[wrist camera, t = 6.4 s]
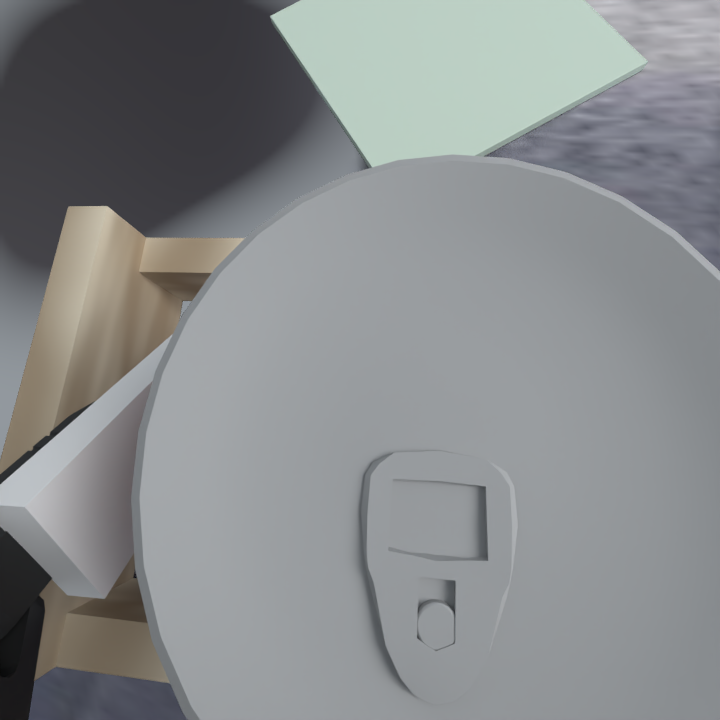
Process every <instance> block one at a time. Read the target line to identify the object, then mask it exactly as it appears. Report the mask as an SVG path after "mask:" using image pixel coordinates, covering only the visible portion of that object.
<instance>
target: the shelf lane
mask: <svg viewBox="0 0 720 720" xmlns="http://www.w3.org/2000/svg"><path fill="white" fill-rule="evenodd" d="M244 239H245V238H146V237H144V236H143V235H142V234H141V233H139V232H138V231H137V230H136V229H135V228H133V227H132V226H131V225H130V224H128V223H127V222H126V221H125V220H123V219H122V218H121V217H120V216H119V215H117V214H116V213H115V212H114V211H112V210H111V209H110V208H109V207H107V206H76V207H68V210H67V214H66V218H65V221H64V225H63V229H62V232H61V236H60V240H59V244H58V247H57V251H56V255H55V259H54V262H53V266H52V270H51V274H50V277H49V281H48V285H47V288H46V292H45V296H44V299H43V303H42V307H41V311H40V314H39V318H38V322H37V325H36V329H35V333H34V337H33V340H32V344H31V348H30V352H29V355H28V359H27V363H26V366H25V370H24V374H23V377H22V381H21V385H20V389H19V392H18V396H17V400H16V404H15V407H14V411H13V415H12V418H11V422H10V426H9V430H8V433H7V437H6V441H5V444H4V448H3V452H2V455H1V459H0V474H1V473H2V472H3V471H5V470H6V469H7V468H8V467H9V466H11V465H12V464H13V463H14V462H15V461H16V460H18V459H19V458H20V457H21V456H22V455H24V454H25V453H26V452H27V451H32V450H33V446H34V445H35V444H36V443H38V442H39V441H40V440H41V439H42V438H44V437H45V436H49V435H50V432H51V431H52V430H53V429H54V428H55V427H57V426H58V425H59V424H60V423H61V422H62V421H64V420H65V419H66V418H67V417H68V416H70V415H71V414H73V413H75V412H76V411H78V410H80V409H82V408H84V407H85V406H87V405H89V404H91V403H92V402H94V401H96V400H98V399H99V398H100V397H101V396H102V395H103V394H104V393H106V392H107V391H108V390H109V389H110V388H111V387H113V386H114V385H115V384H116V383H117V382H118V381H119V380H121V379H122V378H123V377H124V376H125V375H126V374H127V373H129V372H130V371H131V370H132V369H133V368H134V367H135V366H137V365H138V364H139V363H140V362H141V361H142V360H143V359H145V358H146V357H147V356H148V355H149V354H150V353H151V352H153V351H154V350H155V349H156V348H157V347H158V346H159V345H161V344H162V343H163V342H164V341H165V340H166V339H168V338H169V337H170V336H171V335H172V334H173V333H174V331H175V329H176V327H177V324H178V322H179V319H180V314H181V308H182V302H183V301H192V300H193V299H194V298H195V296H196V295H197V293H198V292H199V290H200V289H201V288H202V286H203V285H204V283H205V282H206V280H207V279H208V278H209V276H210V275H211V273H212V272H213V270H214V269H215V268H216V267H217V266H218V265H219V264H220V263H221V262H222V261H223V260H224V259H225V258H226V257H227V256H228V255H229V254H230V253H231V252H232V251H233V250H234V249H235V248H236V247H237V246H238V245H239V244H240V243H241V242H242V241H243V240H244ZM134 571H135V559H134V554H133V555H132V557H131V558H130V560H129V562H128V563H127V565H126V566H125V568H124V569H123V571H122V573H121V574H120V576H119V577H118V579H117V580H116V582H115V584H114V585H113V587H112V588H111V590H110V591H109V593H108V595H107V596H106V598H105V599H101V598H90V597H80V596H70V595H67V594H66V593H65V592H64V591H63V590H62V589H61V588H60V587H59V586H58V585H57V584H56V583H55V582H54V581H53V580H52V579H51V581H50V582H49V583H48V584H47V586H46V587H45V588H44V589H43V591H42V592H41V593H40V595H39V596H40V597H41V598H42V599H43V600H44V604H45V616H44V622H43V628H42V635H41V641H40V647H39V654H38V660H37V667H36V673H35V679H34V681H35V680H37V679H38V678H40V677H41V676H43V675H44V674H46V673H47V672H49V671H50V670H51V669H53V668H54V667H61V668H68V669H75V670H82V671H89V672H96V673H103V674H110V675H117V676H124V677H131V678H138V679H145V680H152V681H159V682H166V683H170V682H169V680H168V677H167V675H166V673H165V670H164V668H163V666H162V663H161V661H160V659H159V656H158V654H157V652H156V649H155V647H154V645H153V642H152V639H151V635H150V630H149V626H148V622H147V618H146V613H145V609H144V605H143V601H142V596H141V592H140V588H139V583H138V579H137V578H133V577H134Z"/></svg>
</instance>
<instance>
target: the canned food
mask: <svg viewBox="0 0 720 720" xmlns="http://www.w3.org/2000/svg"><path fill="white" fill-rule="evenodd" d="M131 508H132V525H133V542H134V559H135V571H136V575H137V579H138V583H139V588H140V592H141V596H142V601H143V605H144V609H145V613H146V618H147V622H148V626H149V630H150V635H151V639H152V642H153V645H154V647H155V649H156V652H157V654H158V656H159V659H160V661H161V663H162V666H163V668H164V670H165V673H166V675H167V677H168V680H169V682H170V684H171V686H172V689H173V691H174V693H175V696H176V698H177V700H178V703H179V705H180V707H181V710H182V712H183V714H184V715H185V717H186V718H187V720H720V271H718V270H717V269H716V268H715V267H714V266H713V265H712V264H711V263H710V262H709V261H708V260H707V259H705V258H704V257H703V256H702V255H701V254H700V253H699V252H698V251H697V250H696V249H695V248H694V247H692V246H691V245H690V244H689V243H688V242H687V241H686V240H685V239H684V238H683V237H682V236H681V235H679V234H678V233H677V232H676V231H675V230H673V229H671V228H670V227H668V226H667V225H665V224H664V223H662V222H661V221H659V220H658V219H656V218H655V217H653V216H651V215H650V214H648V213H647V212H645V211H644V210H642V209H641V208H639V207H638V206H636V205H635V204H633V203H631V202H630V201H628V200H627V199H625V198H624V197H622V196H620V195H618V194H615V193H613V192H611V191H608V190H606V189H604V188H601V187H599V186H597V185H594V184H592V183H590V182H588V181H585V180H583V179H581V178H578V177H576V176H574V175H571V174H569V173H567V172H563V171H559V170H555V169H551V168H547V167H543V166H539V165H535V164H530V163H526V162H522V161H518V160H514V159H510V158H498V157H483V156H469V155H454V154H452V155H442V156H433V157H423V158H413V159H403V160H397V161H393V162H390V163H386V164H382V165H379V166H375V167H372V168H368V169H365V170H361V171H358V172H354V173H351V174H347V175H345V176H343V177H341V178H338V179H336V180H334V181H333V182H330V183H328V184H326V185H324V186H322V187H320V188H318V189H316V190H313V191H311V192H309V193H307V194H305V195H303V196H301V197H299V198H297V199H296V200H294V201H293V202H292V203H290V204H289V205H287V206H286V207H285V208H283V209H282V210H280V211H279V212H278V213H276V214H275V215H273V216H272V217H271V218H269V219H268V220H267V221H265V222H263V223H262V224H261V225H259V226H258V227H256V228H255V229H254V230H253V231H252V232H251V233H250V234H249V235H248V236H247V237H246V238H245V239H244V240H243V241H242V242H241V243H240V244H239V245H238V246H237V247H236V248H235V249H234V250H233V251H232V252H231V253H230V254H229V255H228V256H227V257H226V258H225V259H224V260H223V261H222V262H221V263H220V264H219V265H218V266H217V267H216V268H215V269H214V270H213V272H212V273H211V275H210V276H209V278H208V279H207V280H206V282H205V283H204V285H203V286H202V288H201V289H200V290H199V292H198V293H197V295H196V296H195V298H194V299H193V300H192V302H191V303H190V305H189V306H188V308H187V309H186V310H185V312H184V313H183V315H182V316H181V318H180V320H179V322H178V324H177V327H176V329H175V331H174V333H173V335H172V337H171V339H170V341H169V343H168V345H167V348H166V350H165V352H164V354H163V356H162V358H161V360H160V362H159V364H158V367H157V369H156V371H155V374H154V378H153V381H152V385H151V388H150V392H149V395H148V399H147V403H146V406H145V410H144V413H143V417H142V420H141V424H140V427H139V431H138V439H137V448H136V457H135V466H134V475H133V484H132V493H131Z"/></svg>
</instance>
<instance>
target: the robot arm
mask: <svg viewBox="0 0 720 720" xmlns="http://www.w3.org/2000/svg"><path fill="white" fill-rule="evenodd" d="M172 335H173V334H172ZM172 335H171V336H170V337H169V338H168V339H166V340H165V341H164V342H163V343H162V344H161V345H159V346H158V347H157V348H156V349H155V350H154V351H153V352H151V353H150V354H149V355H148V356H147V357H146V358H145V359H143V360H142V361H141V362H140V363H139V364H138V365H137V366H135V367H134V368H133V369H132V370H131V371H130V372H129V373H127V374H126V375H125V376H124V377H123V378H122V379H121V380H119V381H118V382H117V383H116V384H115V385H114V386H113V387H111V388H110V389H109V390H108V391H107V392H106V393H104V394H103V395H102V396H101V397H100V398H99V399H98V400H96V401H94V402H92V403H91V404H89V405H87V406H85V407H84V408H82V409H80V410H78V411H76V412H75V413H73V414H71V415H70V416H68V417H67V418H66V419H65V420H64V421H62V422H61V423H60V424H59V425H58V426H57V427H55V428H54V429H53V430H52V431H51V432H50V435H49V436H45V437H44V438H42V439H41V440H40V441H39V442H38V443H36V444H35V445H34V446H33V450H32V451H27V452H26V453H25V454H24V455H22V456H21V457H20V458H19V459H18V460H16V461H15V462H14V463H13V464H12V465H11V466H9V467H8V468H7V469H6V470H5V471H3V472H2V473H1V474H0V720H28V717H29V711H30V705H31V698H32V692H33V686H34V679H35V673H36V667H37V660H38V654H39V647H40V641H41V635H42V628H43V622H44V616H45V604H44V600H43V599H42V598H41V597H40V596H39V595H40V593H41V592H42V591H43V589H44V588H45V587H46V586H47V584H48V583H49V582H50V581H51V579H52V580H53V581H54V582H55V583H56V584H57V585H58V586H59V587H60V588H61V589H62V590H63V591H64V592H65V593H66V594H67V595H70V596H80V597H90V598H101V599H105V598H106V596H107V595H108V593H109V591H110V590H111V588H112V587H113V585H114V584H115V582H116V580H117V579H118V577H119V576H120V574H121V573H122V571H123V569H124V568H125V566H126V565H127V563H128V562H129V560H130V558H131V557H132V555H133V554H134V542H133V525H132V508H131V493H132V484H133V475H134V466H135V457H136V448H137V439H138V431H139V427H140V424H141V420H142V417H143V413H144V410H145V406H146V403H147V399H148V395H149V392H150V388H151V385H152V381H153V378H154V374H155V371H156V369H157V367H158V364H159V362H160V360H161V358H162V356H163V354H164V352H165V350H166V348H167V345H168V343H169V341H170V339H171V337H172Z"/></svg>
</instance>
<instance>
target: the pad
mask: <svg viewBox="0 0 720 720" xmlns="http://www.w3.org/2000/svg"><path fill="white" fill-rule="evenodd" d="M270 17H271V20H272V23H273V26H274V27H275V29H276V30H277V31H278V33H279V34H280V36H281V37H282V39H283V40H284V42H285V43H286V45H287V46H288V48H289V49H290V51H291V52H292V54H293V55H294V57H295V58H296V60H297V61H298V63H299V64H300V66H301V67H302V69H303V70H304V72H305V73H306V75H307V76H308V77H309V79H310V81H311V82H312V83H313V85H314V87H315V88H316V90H317V91H318V93H319V94H320V95H321V97H322V98H323V100H324V102H325V103H326V105H327V106H328V107H329V109H330V111H331V112H332V113H333V115H334V116H335V118H336V119H337V121H338V122H339V124H340V125H341V127H342V128H343V130H344V131H345V133H346V134H347V136H348V137H349V139H350V140H351V142H352V143H353V145H354V146H355V148H356V149H357V151H358V152H359V154H360V155H361V157H362V158H363V160H364V161H365V163H366V164H367V166H368V167H369V168H372V167H375V166H379V165H382V164H386V163H390V162H393V161H397V160H403V159H413V158H423V157H433V156H442V155H452V154H454V155H469V156H485V155H487V154H489V153H491V152H493V151H494V150H496V149H498V148H500V147H502V146H504V145H506V144H507V143H509V142H511V141H513V140H515V139H517V138H518V137H520V136H522V135H524V134H526V133H528V132H529V131H531V130H533V129H535V128H537V127H539V126H541V125H542V124H544V123H546V122H548V121H550V120H552V119H553V118H555V117H557V116H559V115H561V114H563V113H565V112H566V111H568V110H570V109H572V108H574V107H576V106H577V105H579V104H581V103H583V102H585V101H587V100H588V99H590V98H592V97H594V96H596V95H598V94H600V93H601V92H603V91H605V90H607V89H609V88H611V87H612V86H614V85H616V84H618V83H620V82H622V81H624V80H625V79H627V78H629V77H631V76H633V75H635V74H636V73H638V72H640V71H642V70H643V69H644V67H645V66H646V64H647V63H648V61H647V60H646V59H645V58H644V57H643V56H642V55H641V54H639V53H638V52H637V51H636V50H635V49H634V48H633V47H632V46H631V45H630V44H629V43H628V42H627V41H626V40H625V39H624V38H623V37H622V36H621V35H620V34H619V33H618V32H617V31H616V30H615V29H614V28H613V27H612V26H610V25H609V24H608V23H607V22H606V21H605V20H604V19H603V18H602V17H601V16H600V15H599V14H598V13H597V12H596V11H595V10H594V9H593V8H592V7H591V6H590V5H589V4H588V3H587V2H586V1H585V0H301V1H299V2H297V3H295V4H293V5H291V6H289V7H287V8H285V9H283V10H281V11H280V12H278V13H276V14H274V15H272V16H270Z"/></svg>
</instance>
